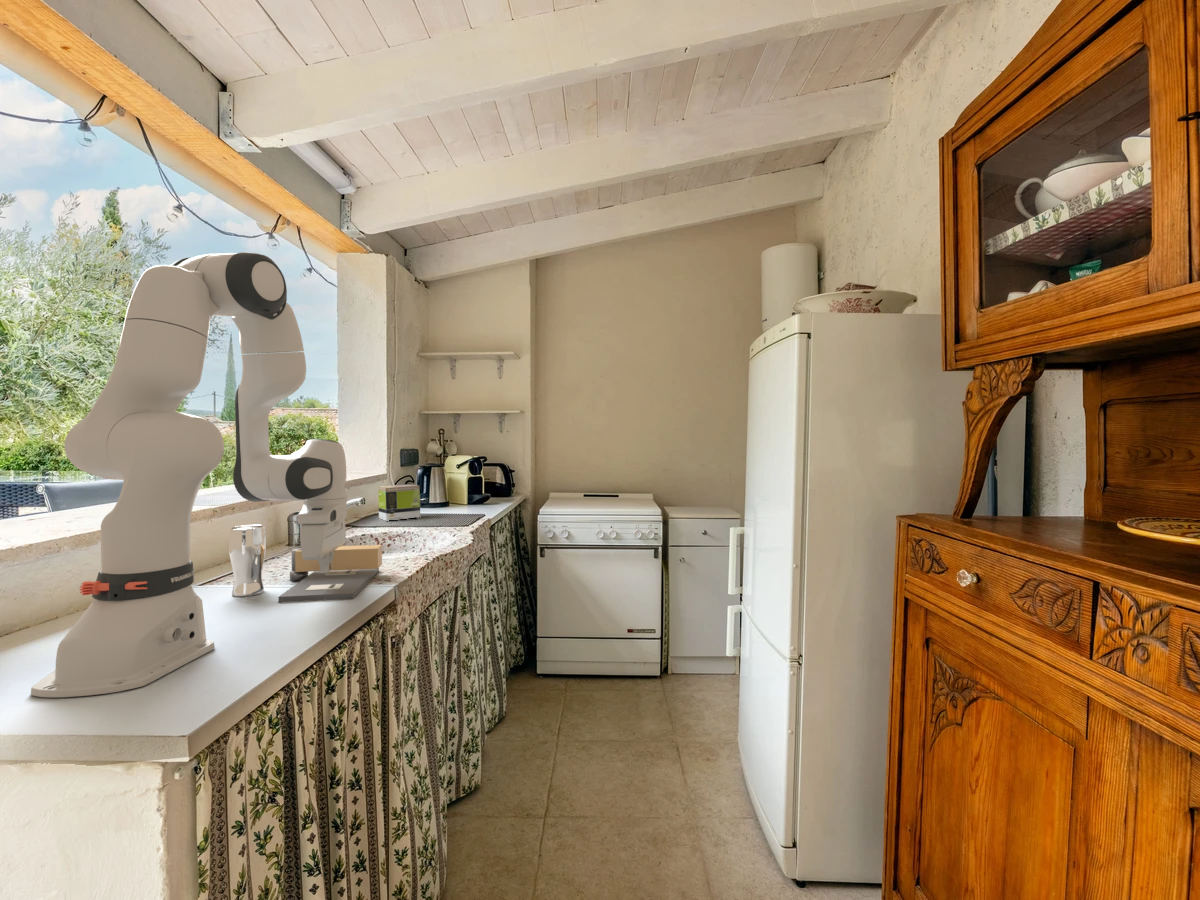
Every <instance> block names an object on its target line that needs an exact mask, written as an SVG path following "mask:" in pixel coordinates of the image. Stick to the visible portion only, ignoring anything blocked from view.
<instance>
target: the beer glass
mask: <svg viewBox="0 0 1200 900" xmlns="http://www.w3.org/2000/svg"><path fill="white" fill-rule="evenodd" d="M265 529H266V528H265V525H263V524H245V525H236V526H232V527H230V528H229V541H228V542H229V543H228V550H229V552H228V554H229V559H230V563H231V567H232V573H233V587H232V590H231V591H232V592H231V595H232V596H233V597H235V598H236V597H238V598H242V597H251V596H252V597H253V596H256V595H261V594H262V593H264V591H265V588H264V584H263V567H264V564H265V563H264V562H265V557H266V550H267V549H266V547H267V546H266V545H267V544H266V543H267V540H266V531H265Z"/></svg>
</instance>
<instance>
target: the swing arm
mask: <svg viewBox="0 0 1200 900" xmlns="http://www.w3.org/2000/svg"><path fill="white" fill-rule="evenodd" d="M290 554H291V571H295V572H305V571H308V572H314V571H320V565H319V562H318V560H304V558H303V556H302V553H301V547H298V548H292V549H291V553H290ZM382 565H383V544H371V545H370V544H369V545H368V544H366V545H365V544H364V545H341V546H339V547H338V548H336V549H335V550H334V557H333V561H332V569H331V570H355V569H378V568H379V569H380V567H381V566H382Z"/></svg>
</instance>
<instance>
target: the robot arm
mask: <svg viewBox="0 0 1200 900" xmlns="http://www.w3.org/2000/svg"><path fill="white" fill-rule="evenodd" d="M281 270H282V269H280V268H279V266H278V265H277V263H275V261H274V260H273V259H272V258H270V257H269V256H267V255H265V254H261V253H257V252H250V251H239V252H237V253H234V252H233V253H231V252H229V253H228V252H227V253H226V252H225V253H220V252H219V253H218V252H215V253H214V252H213V253H206V254H202V255H197V256H194V257H185V258H181V259H179V260H176V261H174V262H173V263H172V264H169V265H168V264H163V265H162V264H160V265H159V264H158V265H154V266H152V267H149V268H147V269H146V270H145V271H144V272H143V273H142V274H141V276H140V278H139V280H138V281H137V283H136V285H135V287H134V290H133V293H132V295H131V298H130V300H129V303H128V307H127V309H126V312H125V313H126V314H125V317H124V322H123V326H122V331H121V335H120V341H119V345H118V349H117V353H116V358H115V362H114V365H113V368H112V371H111V373H110V375H109V377H108V380H107V382H106V384H105V385H104V387H103V389H102V390H101V392H100V394H99V396H98V397H97V400H96V401H95V402H94V404H93V406H92V408H91V409H90V411H89V412H87V414H86V415H85V417H83V418H82V419H81V420H80V421H79V422H78V423H76V424H75V425H74V426H73V427H72V428H71V429H70V430H69V431H68V433H67V435H66V436H65V440H64V452H65V455H66V457H67V458H68V460H69V462H70V463H71V464H72V465H73V466H74V467H75V468H77V469H79V470H80V471H82V472H83V473H87V474H90V475H92V476H96V477H99V478H102V479H106V480H112V481H113V480H118V481H119V480H121V481H123V482H122V486H121V490H120V494H119V495H118V496H119V497H118V499H117V501H116V504H115V506H114V508H112V510H111V511H110V512H109V513H107V514H106V515H105V516H104V517H103V519H102V521H101V523H100V558H101V559H100V560H101V561H100V563H101V567H100V569H101V570H100V571H99V572H98V573H97V577H96V580H95V581H89V580H86V581H83V582H82V583H81V585H80V586H79V593H80V594H81V595H82V596H89V595H91V598H93V600H92V601H91V603H90V605H89V606H88V608H87V609H86V610H84V612H83V614H82V615H81V616H80V617H79V618H78V620H77V621H76V622H75V623H74V625H72V627H71V628H70V630H69V631H68V632H67V633H66V635H65V636H64V637H63V638H62V639H61V641H60V642H59V643H58V645H57V646H58V647H57V650H56V655H55V656H56V657H55V670H53V671H52V672H51V673H49V674H48V675H47V676H45V677H44V678H43V679H41V680H40V681H38V682H37V683H35V684H34V685H33V686H31V688H30V695H31V696H34V697H38V698H70V697H86V696H94V695H95V696H96V695H102V694H103V695H104V694H105V695H106V694H111V693H116V692H123V691H127V690H133V689H136V688H140V687H144V686H146V685H149V684H151V683H152V682H154V681H156V680H157V679H160V678H162V677H163V676H165V675H168V674H169V673H171V672H173V671H175V670H176V669H179V668H181V667H182V666H185V665H186V664H188V663H190V662H192V661H193V660H195V659H197V658H199V657H201V656H203V655H205V654H206V653H208V652H211V651H212V650H214V649H215V642H214V641H213V640H211V639H207V633H206V624H205V615H204V614H205V612H204V607H203V606H204V605H203V600H202V598H201V597H200V596H199V595H198V594H197V593H196V592H195V590H194V589H193V587H192V584H193V583H194V582H195V577H194V576H195V575H194V574H195V568H194V563H193V562H194V561H191V555H190V554H191V518H192V512H193V507H194V505H195V504H194V503H195V501H196V497H197V495H198V492H199V491H200V488H201V486H202V484H203V482H204V481H205V479H206V478H207V476H208V475H210V474H211V473H212V472H213V471H214V470H215V469H216V468H217V467H218V466H219V464H220V463H221V461H222V459H223V456H224V452H225V444H224V443H225V442H224V438H223V434H222V433H221V431H220V430H219V428H218V427H217V426H216V425H215V424H214V423H213V422H211V421H210V420H207V419H206V418H203V417H200V416H197V415H193V414H188V413H185V412H181V411H177V410H178V408H179V406H180V405H181V404H182V402H183V400H184V399H185V398H186V397H187V396H188V395H189V394H190V393H192V392H193V391H194V390H195V389H196V388H197V387H198V386H199V384H200V382H201V380H202V375H203V369H204V364H205V363H204V362H205V357H206V352H207V346H208V341H209V340H208V339H209V335H210V326H211V325H210V324H211V319H212V318H213V317H214V316H215V317H223V316H224V317H226V316H227V317H230V318H231V319H232V321H233V322H234V324H235V326H236V328H237V329H238V332H239V333H238V335H239V347H240V353H241V361H242V363H241V364H242V372H241V379H240V383H239V385H238V386H237V387H236V391H235V397H234V398H235V400H234V417H235V418H234V419H235V420H234V422H235V447H236V452H235V453H236V455H235V462H234V469H233V472H232V474H233V475H232V481H233V485H234V487H235V490H236V491H237V494H239V496H241V497H242V498H243V499H245V500H246V501H249V502H254V503H255V502H267V501H268V502H269V501H277V502H278V501H279V502H282V501H283V502H287V501H289V502H290V501H292V502H293V501H294V502H295V501H296V502H297V501H300V502H301V501H302V508H301V510H300V511H299V512H298V514H297V520H296V521H297V524H298V525H300V529H299V538H300V540H299V541H300V548H301V553H302V556H303V558H304V560H318V562H319V565H320V573H327V572H329V571H330V570H331V569H332V561H333V557H334V550H335V549H336V548H338V547H339V546H343V545H344V544H345V543H346V536H347V535H346V531H347V529H346V518H347V516H348V513H347V511H348V507H347V506H348V505H347V503H348V502H347V501H348V500H347V499H348V498H347V492H346V489H345V488H346V486H345V485H346V482H347V461H346V454H345V450H344V447H343V444H341V443H340V442H337V441H335V440H331V439H322V438H312V439H308V440H306V441H305V445H303V446H302V447H301V448H300V449H298V450H297V451H295V452H292V453H290V454H284V455H274V454H273V453H272V452H271V451H270V436H269V435H270V434H269V433H270V431H269V426H270V425H269V418H270V414H271V411H272V409H273V408H274V407H275V406H276V405H277V404H278V403H279V402H281V401H283V400H284V399H286V398H288V397H290V396H291V395H293V394H294V393H296V392H297V391H298V390H300V387H302V385H303V383H304V382H305V380H306V376H307V361H306V356H305V355H306V354H305V349H304V343H303V338H302V334H301V331H300V327H299V325H298V321H297V318H296V315H295V311H294V310H293V308H292V306H291V305H290V304H289V303H288V302H287V300H288V299H287V298H288V297H287V295H288V294H287V293H288V292H287V290H288V289H287V283H286V279H285V276H284V274H283V272H282V271H281Z"/></svg>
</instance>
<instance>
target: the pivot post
mask: <svg viewBox="0 0 1200 900" xmlns="http://www.w3.org/2000/svg"><path fill="white" fill-rule="evenodd" d="M308 575H309V571H305V572H295V571H292V570H291V571H289V582H293V583H295V582H296V583H298V582H300V581H301V580H303V579H304V578H306V577H307V576H308Z"/></svg>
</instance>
